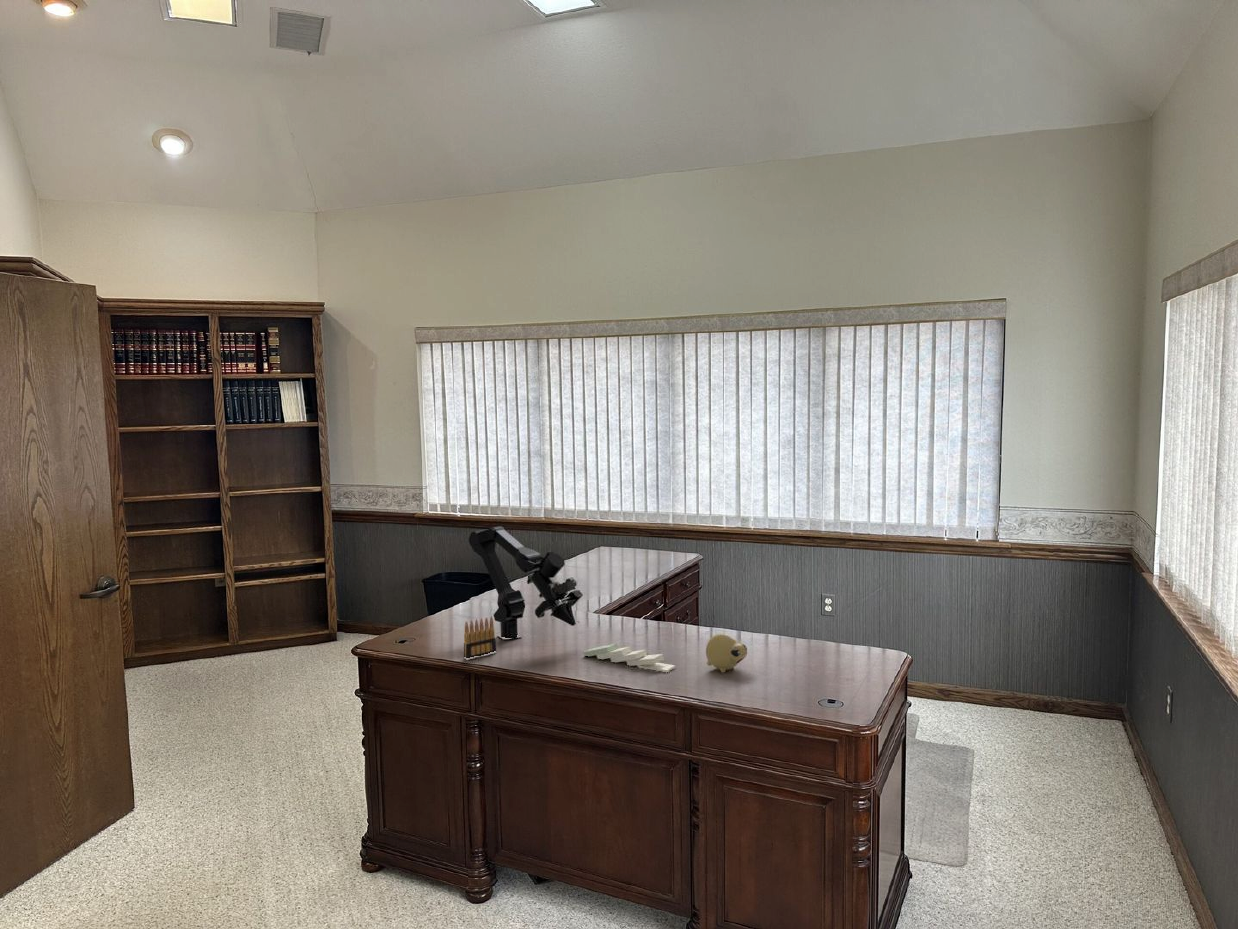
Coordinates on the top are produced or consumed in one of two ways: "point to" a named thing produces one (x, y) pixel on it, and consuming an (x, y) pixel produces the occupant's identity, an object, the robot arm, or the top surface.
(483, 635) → the ammunition clip
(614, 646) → the domino
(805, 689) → the top surface
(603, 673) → the top surface
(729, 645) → the beige round figure
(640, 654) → the domino
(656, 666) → the domino
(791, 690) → the top surface
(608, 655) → the domino
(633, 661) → the domino
